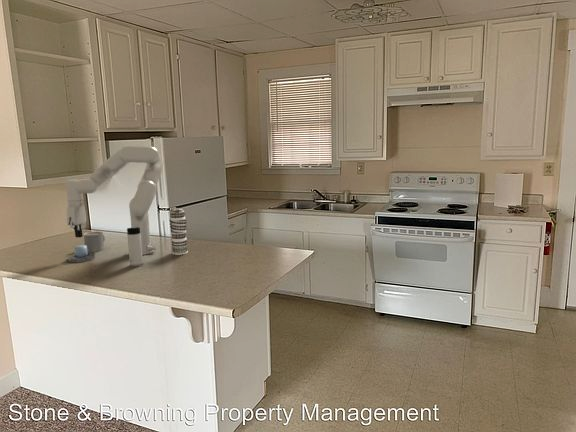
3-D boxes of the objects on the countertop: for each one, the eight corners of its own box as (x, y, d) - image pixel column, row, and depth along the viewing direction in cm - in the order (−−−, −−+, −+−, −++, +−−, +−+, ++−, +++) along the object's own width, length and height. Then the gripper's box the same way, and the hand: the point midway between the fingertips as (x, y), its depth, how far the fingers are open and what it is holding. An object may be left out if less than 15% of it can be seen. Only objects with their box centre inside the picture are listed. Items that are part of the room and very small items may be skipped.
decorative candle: (178, 256, 236) (175, 210, 231) (168, 253, 242) (165, 209, 237) (192, 252, 243) (189, 208, 238) (181, 249, 249) (178, 206, 244)
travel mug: (129, 267, 217) (126, 228, 213) (130, 264, 223) (127, 226, 219) (142, 266, 218) (139, 227, 215) (143, 262, 225) (140, 225, 221)
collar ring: (100, 256, 239) (99, 252, 238) (84, 262, 226) (84, 259, 226) (79, 255, 241) (79, 251, 241) (63, 261, 229) (62, 258, 228)
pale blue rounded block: (90, 257, 236) (89, 245, 235) (83, 260, 230) (81, 248, 229) (80, 257, 237) (79, 244, 236) (73, 260, 232) (72, 247, 230)
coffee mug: (93, 253, 245) (92, 235, 243) (81, 251, 249) (79, 234, 247) (112, 247, 257) (111, 230, 255) (100, 245, 261) (99, 229, 259)
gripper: (78, 200, 236) (82, 233, 239) (59, 205, 222) (63, 240, 225) (91, 201, 234) (94, 234, 238) (72, 205, 220) (75, 240, 223)
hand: (79, 236), depth 231 cm, fingers closed
